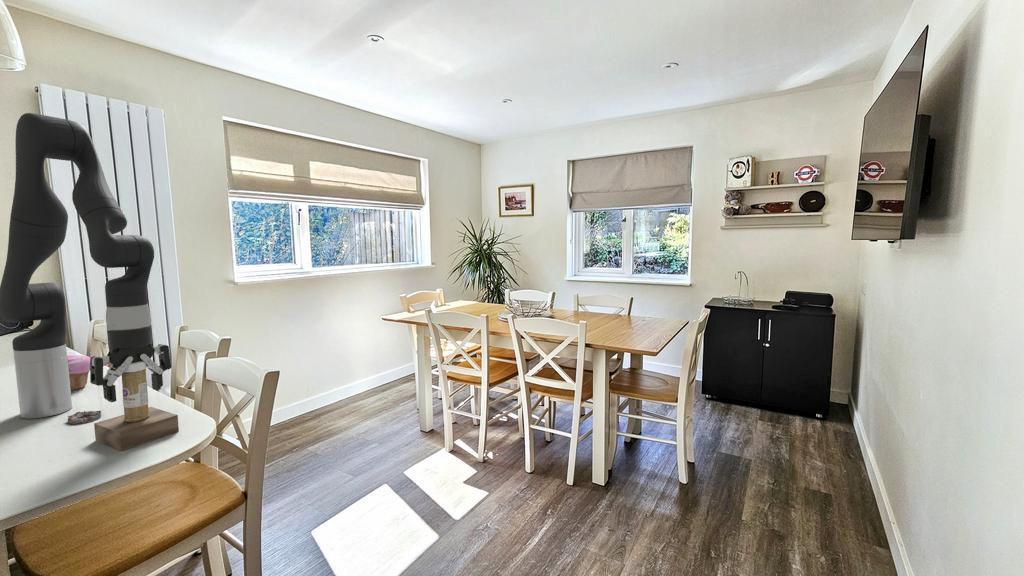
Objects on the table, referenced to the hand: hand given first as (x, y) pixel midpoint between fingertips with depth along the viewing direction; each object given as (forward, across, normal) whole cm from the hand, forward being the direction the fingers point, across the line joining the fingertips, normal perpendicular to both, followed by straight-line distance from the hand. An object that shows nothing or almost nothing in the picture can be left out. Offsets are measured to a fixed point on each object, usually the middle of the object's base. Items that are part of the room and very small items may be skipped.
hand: (135, 395), depth 101 cm
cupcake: (+10, -9, -53) cm, 55 cm away
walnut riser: (+10, 0, 0) cm, 10 cm away
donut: (+10, +1, -22) cm, 25 cm away
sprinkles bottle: (+6, 0, 0) cm, 6 cm away
